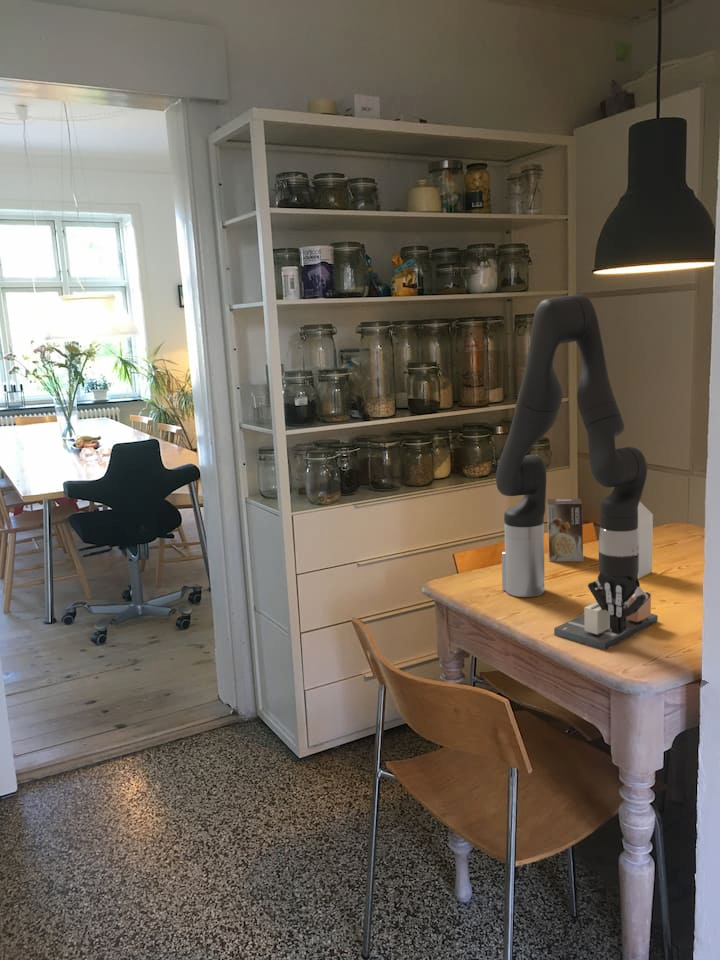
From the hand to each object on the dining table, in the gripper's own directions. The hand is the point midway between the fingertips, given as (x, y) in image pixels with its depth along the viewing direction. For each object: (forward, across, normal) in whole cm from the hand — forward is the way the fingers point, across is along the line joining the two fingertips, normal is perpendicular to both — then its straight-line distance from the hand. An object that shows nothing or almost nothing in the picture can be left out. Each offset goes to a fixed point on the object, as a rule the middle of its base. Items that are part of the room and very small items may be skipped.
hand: (618, 632), depth 160 cm
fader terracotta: (0, -2, +11) cm, 11 cm away
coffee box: (+3, -41, +41) cm, 58 cm away
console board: (+2, -6, +5) cm, 8 cm away
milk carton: (+3, -21, +41) cm, 46 cm away
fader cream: (+1, -4, 0) cm, 5 cm away
